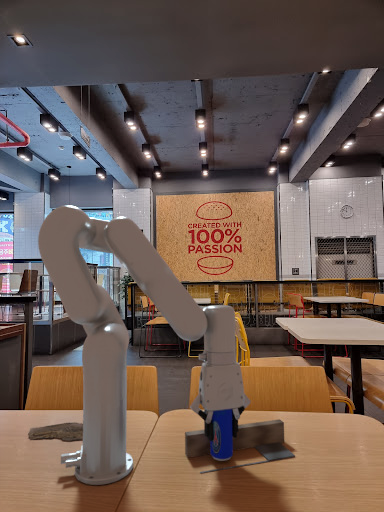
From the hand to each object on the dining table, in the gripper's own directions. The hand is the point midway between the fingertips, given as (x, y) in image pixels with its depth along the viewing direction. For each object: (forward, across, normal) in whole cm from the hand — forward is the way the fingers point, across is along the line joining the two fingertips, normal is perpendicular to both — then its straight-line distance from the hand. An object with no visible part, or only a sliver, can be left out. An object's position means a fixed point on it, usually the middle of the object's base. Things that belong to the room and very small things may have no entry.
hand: (221, 436), depth 78 cm
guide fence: (+5, +6, 0) cm, 8 cm away
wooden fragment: (+6, -34, +26) cm, 44 cm away
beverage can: (+5, 0, 0) cm, 5 cm away
